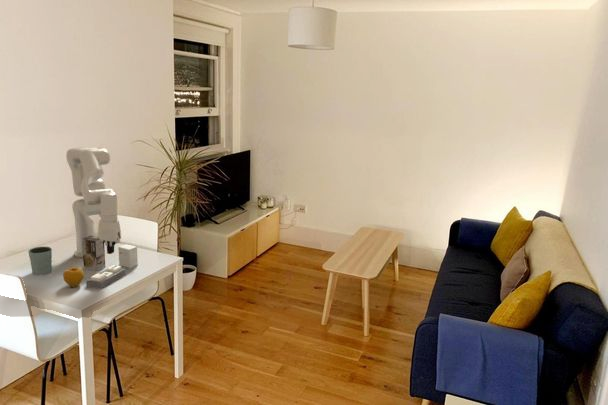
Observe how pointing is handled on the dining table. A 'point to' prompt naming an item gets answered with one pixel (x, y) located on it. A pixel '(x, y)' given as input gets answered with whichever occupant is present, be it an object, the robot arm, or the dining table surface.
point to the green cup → (41, 260)
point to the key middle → (107, 274)
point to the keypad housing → (106, 279)
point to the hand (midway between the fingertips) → (110, 252)
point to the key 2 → (114, 268)
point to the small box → (128, 256)
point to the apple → (73, 276)
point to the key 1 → (98, 277)
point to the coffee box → (93, 253)
